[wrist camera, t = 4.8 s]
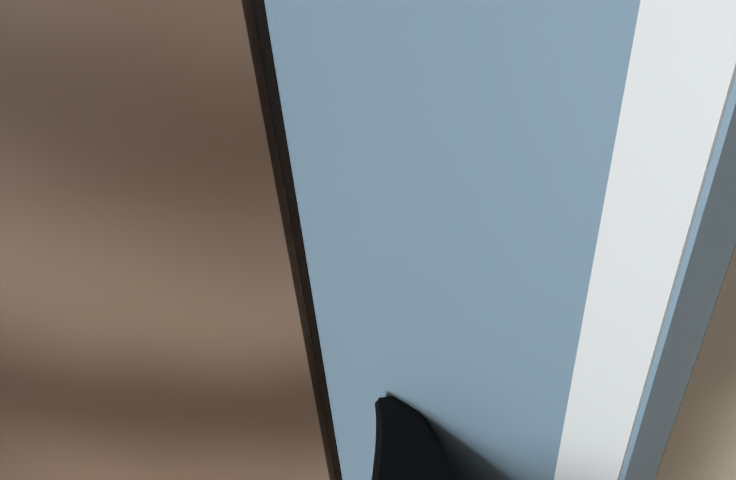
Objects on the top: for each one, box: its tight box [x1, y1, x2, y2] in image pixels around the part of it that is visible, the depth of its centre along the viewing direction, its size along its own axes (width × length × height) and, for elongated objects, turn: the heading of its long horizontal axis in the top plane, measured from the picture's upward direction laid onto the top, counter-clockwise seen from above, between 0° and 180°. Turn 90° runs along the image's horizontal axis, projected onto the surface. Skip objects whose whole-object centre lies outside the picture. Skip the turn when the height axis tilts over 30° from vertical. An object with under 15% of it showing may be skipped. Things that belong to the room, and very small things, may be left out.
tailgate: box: [264, 0, 736, 480], centre depth 10 cm, size 20×1×6 cm
